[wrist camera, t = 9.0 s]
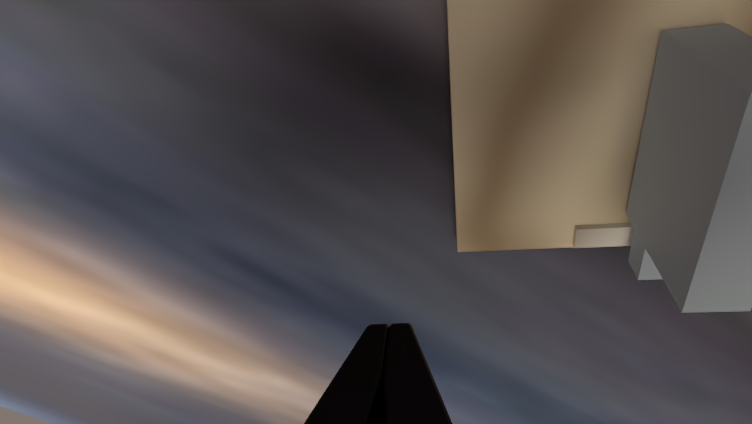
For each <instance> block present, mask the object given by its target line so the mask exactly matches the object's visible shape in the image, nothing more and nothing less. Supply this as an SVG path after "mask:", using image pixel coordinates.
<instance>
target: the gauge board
mask: <svg viewBox="0 0 752 424" xmlns="http://www.w3.org/2000/svg"><path fill="white" fill-rule="evenodd" d="M447 21H448V45H449V69H450V93H451V117H452V141H453V165H454V189H455V213H456V237H457V251H458V252H471V251H495V250H519V249H543V248H568V247H574V248H588V247H612V246H631V244H632V240H633V235H634V230H635V229H634V228H633V226H632V224H631V222H630V221H629V219H628V217H627V215H626V211H627V206H628V201H629V196H630V191H631V186H632V180H633V175H634V170H635V165H636V160H637V155H638V150H639V144H640V139H641V134H642V129H643V124H644V119H645V114H646V108H647V103H648V98H649V93H650V88H651V83H652V78H653V72H654V67H655V62H656V57H657V52H658V47H659V42H660V36H661V31H662V30H670V29H681V28H691V27H701V26H711V25H721V24H729V25H731V26H733V27H735V28H737V29H739V30H741V31H743V32H744V33H746V34H748V35H750V36H752V0H447Z"/></svg>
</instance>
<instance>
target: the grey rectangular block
mask: <svg viewBox="0 0 752 424" xmlns="http://www.w3.org/2000/svg"><path fill="white" fill-rule="evenodd" d="M626 215H627V217H628V219H629V221H630V222H631V224H632V226H633V228H634V229H635V230H634V235H633V240H632V244H631V249H630V254H629V259H628V262H629V264H630V266H631V267H632V269H633V271H634V273H635V275H636V277H637V279H638V280H653V279H663V280H664V282H665V284H666V286H667V287H668V289H669V291H670V293H671V294H672V296H673V298H674V300H675V301H676V303H677V305H678V307H679V308H680V310H681V312H682V313H685V312H729V311H750V310H751V308H752V36H750V35H748V34H746V33H744V32H743V31H741V30H739V29H737V28H735V27H733V26H731V25H729V24H721V25H711V26H701V27H691V28H681V29H670V30H662V31H661V36H660V42H659V47H658V52H657V57H656V62H655V67H654V72H653V78H652V83H651V88H650V93H649V98H648V103H647V108H646V114H645V119H644V124H643V129H642V134H641V139H640V144H639V150H638V155H637V160H636V165H635V170H634V175H633V180H632V186H631V191H630V196H629V201H628V206H627V211H626Z"/></svg>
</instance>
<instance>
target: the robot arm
mask: <svg viewBox="0 0 752 424" xmlns="http://www.w3.org/2000/svg"><path fill="white" fill-rule="evenodd" d="M304 424H452V422H451V419H450V417H449V415H448V412H447V410H446V407H445V405H444V403H443V400H442V398H441V395H440V393H439V390H438V388H437V386H436V383H435V381H434V378H433V376H432V374H431V371H430V369H429V366H428V364H427V361H426V359H425V357H424V354H423V352H422V349H421V347H420V345H419V342H418V340H417V337H416V335H415V333H414V330H413V328H412V326H411V324H409V323H396V324H391V325H390V326H389V325H388V324H371V325H369V326H367V328H366V329H365V331H364V332H363V334H362V335H361V337H360V338H359V340H358V341H357V343H356V344H355V346H354V348H353V349H352V351H351V352H350V354H349V355H348V357H347V358H346V360H345V361H344V363H343V364H342V366H341V368H340V369H339V371H338V372H337V374H336V375H335V377H334V378H333V380H332V381H331V383H330V384H329V386H328V388H327V389H326V391H325V392H324V394H323V395H322V397H321V398H320V400H319V401H318V403H317V404H316V406H315V408H314V409H313V411H312V412H311V414H310V415H309V417H308V418H307V420H306V421H305V423H304Z"/></svg>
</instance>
